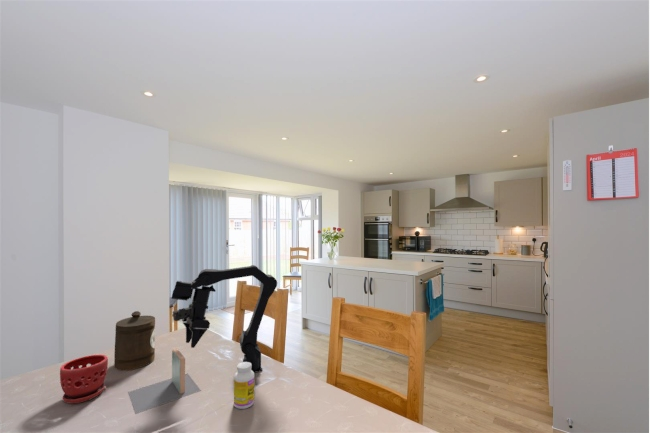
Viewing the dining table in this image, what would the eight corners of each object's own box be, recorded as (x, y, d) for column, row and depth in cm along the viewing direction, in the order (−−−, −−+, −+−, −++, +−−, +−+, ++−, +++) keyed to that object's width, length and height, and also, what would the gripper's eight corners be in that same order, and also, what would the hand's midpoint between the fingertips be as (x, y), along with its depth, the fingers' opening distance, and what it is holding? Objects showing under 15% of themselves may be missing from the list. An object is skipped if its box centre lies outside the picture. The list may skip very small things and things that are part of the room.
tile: (176, 380, 113) (176, 348, 114) (184, 392, 105) (185, 358, 105) (171, 381, 112) (172, 349, 113) (179, 394, 104) (180, 359, 104)
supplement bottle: (248, 411, 96) (248, 370, 96) (229, 408, 97) (230, 368, 97) (257, 399, 102) (257, 361, 102) (239, 396, 103) (240, 359, 104)
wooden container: (161, 360, 132) (162, 310, 132) (124, 374, 119) (125, 319, 120) (144, 352, 139) (144, 305, 140) (107, 364, 127) (108, 313, 127)
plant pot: (116, 389, 108) (116, 356, 109) (75, 410, 96) (76, 373, 96) (91, 382, 113) (92, 351, 113) (49, 402, 100) (50, 366, 101)
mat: (187, 374, 118) (187, 373, 118) (201, 392, 106) (201, 390, 106) (128, 393, 105) (128, 391, 105) (135, 415, 93) (135, 413, 93)
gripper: (173, 298, 119) (163, 339, 115) (182, 301, 104) (170, 349, 100) (202, 301, 125) (193, 340, 120) (214, 305, 110) (204, 350, 105)
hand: (189, 345), depth 111 cm, fingers open, 9 cm apart
